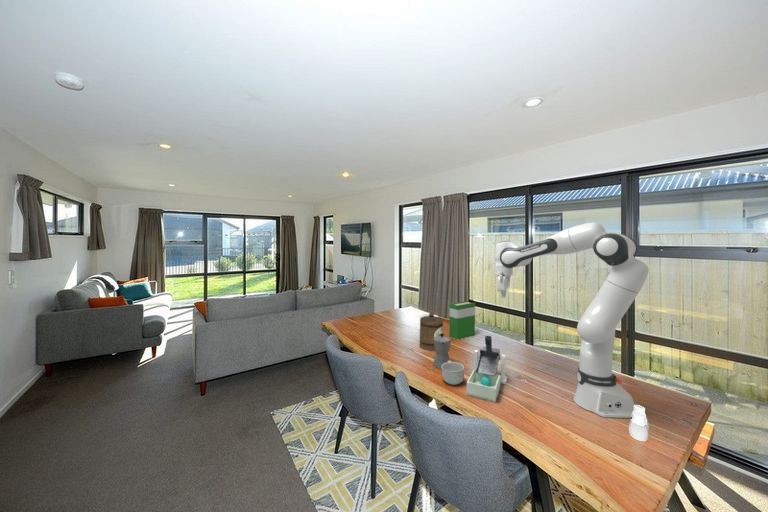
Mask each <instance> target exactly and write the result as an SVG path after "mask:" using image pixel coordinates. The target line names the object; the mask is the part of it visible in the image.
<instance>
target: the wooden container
mask: <svg viewBox="0 0 768 512" xmlns="http://www.w3.org/2000/svg"><path fill="white" fill-rule="evenodd" d="M419 324H420V325H419V347H420V349H423V350H426V351H435V346H434V340H433V339H434V338H435V337H438V336H439V335H440V334H444V332H443V331H444V329H443V328H444V319H443V318H442V317H440V316H435V314H434V313H433V312H430V313H428V316H421V317H420V319H419Z"/></svg>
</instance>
